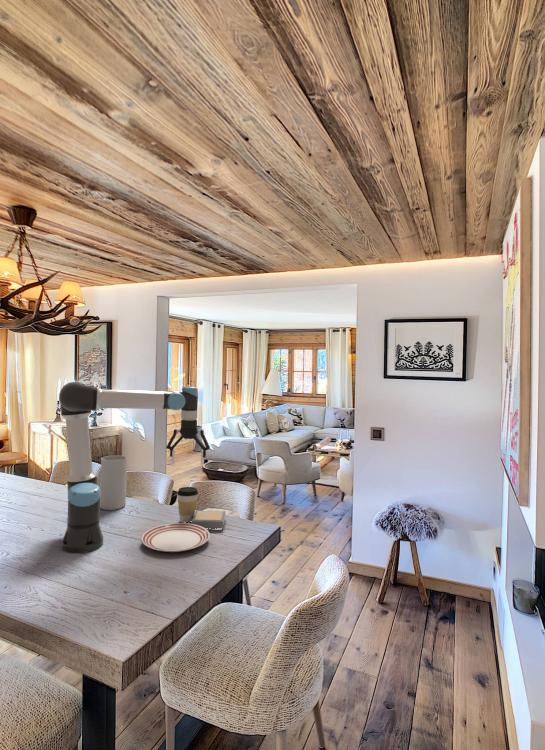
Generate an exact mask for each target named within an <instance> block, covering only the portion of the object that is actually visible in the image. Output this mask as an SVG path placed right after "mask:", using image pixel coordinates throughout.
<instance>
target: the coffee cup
mask: <svg viewBox="0 0 545 750" xmlns="http://www.w3.org/2000/svg"><path fill="white" fill-rule="evenodd" d="M198 494H199V491H198V489H197V488H196V487H194V486H183V487H179V488H178V491H177V493H176V495H177V504H178V514H179V522H180V521H182V522H190V521H192V519H193V517H194V515H195V512H196V507H197V501H198Z"/></svg>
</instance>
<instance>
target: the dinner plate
mask: <svg viewBox="0 0 545 750" xmlns="http://www.w3.org/2000/svg"><path fill="white" fill-rule="evenodd" d="M209 531H210V530H207V529H205V528H203V527H201V526H199V525H195V524H192V523H181V522H175V523H165V524H162V525H158V526H155V527H152V528H150V529H149V530H146V531H145V532H144V533H143V534H142V535H141V542H142V544H143V545H144V546H145V547H148V548H149V549H152V550H156V551H159V552H166V553H167V552H169V553H177V552H185V551H190V550H192V549H196V548H199V547H200V546H203V545H204V544H206V543H207V542H208V541H209V539H210V538H211V533H210V532H209Z"/></svg>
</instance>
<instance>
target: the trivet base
mask: <svg viewBox="0 0 545 750" xmlns="http://www.w3.org/2000/svg"><path fill="white" fill-rule="evenodd" d="M224 521H225V522H226V510H225V511H224V510H195V514H194V517H193V519H192V522H191V524H195V525H199V526H201V527H203V528H208V529H209V528H211V529H215V528H216V529H217V528H222V529H223V530H224V527H223V525H224V526H225V523H224Z"/></svg>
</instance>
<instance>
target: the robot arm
mask: <svg viewBox="0 0 545 750" xmlns="http://www.w3.org/2000/svg"><path fill="white" fill-rule="evenodd" d="M198 389H199V388H197V386H182V388H181V390H158V391H153V390H131V389H130V390H127V389H103V388H102V389H101V388H100V387H99V386H90V385H86V384H84V383H82V382H79V381H72V382H67V383H66V384H64V385H63V386H62V388H61V389H60V391H59V395H58V401H59V403H60V415H61V417H62V418H64V419H65V425H66V426H65V428H66V437H67V438H66V439H67V449H68V450H67V451H68V461H69V463H68V464H69V472H70V473H69V477H68V478H66V484H67V485H66V486H67V519H66V520H67V521H66V522H67V523H66V524H67V525H66V529H65V532H64V535H63V538H62V540H61V550H62V551H63V552H65V553H68V554H82V553H87V552H88V553H89V552H92V551H94V550H97V549H99V548H100V547H102V546H103V544H104V535H103V531H102V529H101V526H100V511H101V510H100V509H101V508H100V496H101V492H100V485H98V477H97V474H96V472H93V471H94V470H93V462H92V450H91V439H90V426H89V425H90V424H89V416H90V415H91V414H92V411H97V410H99V409H135V410H137V409H138V410H140V409H141V410H172V411H180V419H181V420H180V429H178V428H175V429H174V430H173V432H172V435H171V438H170V439H169V441H168V442H167V445H166V448H165V449H167V450H169V457H171V464H172V465H174V464H175V463H176V462H175V461H176V460H175V459H176V449H174V448H175V447H177V446H178V444H179V443H180V442H181V441H182V440H183V439H184V440H192V439H193V440H194V441H195V442H196V443H197V445H198V446H199V447H200V448H201V455H200V456H201V457H200V466H203V465H204V458H206V456H207V450H210V449H211V446H210V444H209V442H208V440H207V438H206V436H205V433H204V429H198V407H199V406H198V403H199V402H198V401H199V390H198ZM178 434H180V437H178V439H177V440H176V441H175V442H174V440H175V438H176V436H177V435H178ZM197 434H199V435H200V437H201V439H202V441H203V442H202V441H201V440H200V438H199V437H198V435H197ZM173 442H174V443H173ZM172 444H173V445H172Z"/></svg>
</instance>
